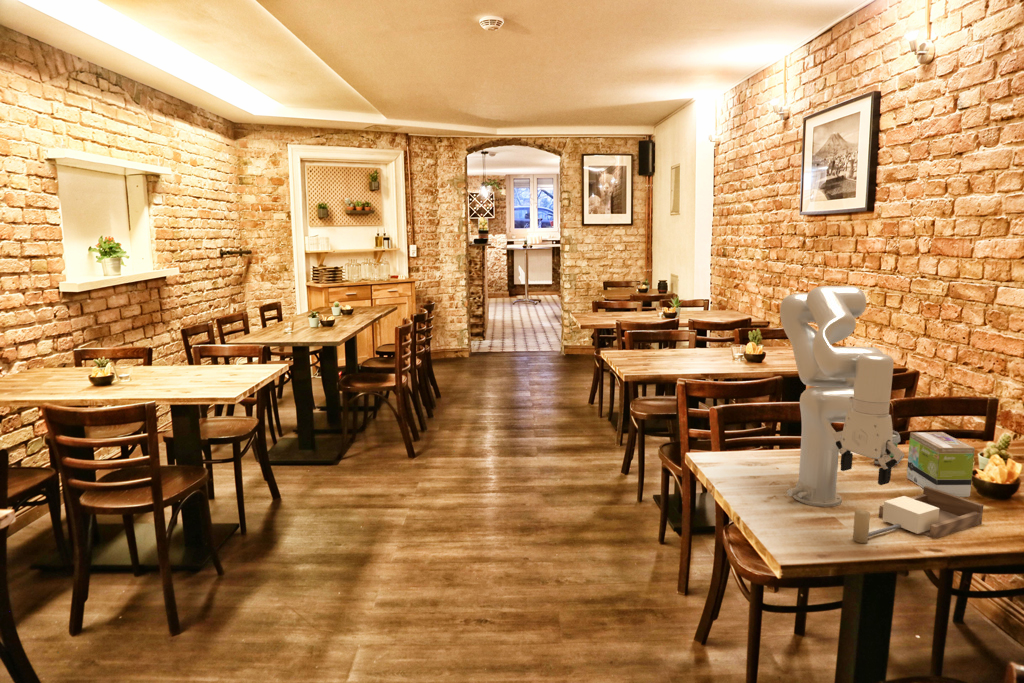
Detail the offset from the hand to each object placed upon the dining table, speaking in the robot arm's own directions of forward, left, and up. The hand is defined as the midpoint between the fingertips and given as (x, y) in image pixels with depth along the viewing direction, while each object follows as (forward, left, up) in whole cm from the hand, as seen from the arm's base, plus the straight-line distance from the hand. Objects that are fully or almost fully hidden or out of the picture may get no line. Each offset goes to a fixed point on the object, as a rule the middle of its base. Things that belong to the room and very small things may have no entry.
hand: (864, 476), depth 156 cm
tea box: (+51, +13, -16) cm, 55 cm away
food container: (+58, +33, -16) cm, 68 cm away
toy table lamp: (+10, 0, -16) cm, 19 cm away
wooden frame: (+26, 0, -16) cm, 30 cm away
